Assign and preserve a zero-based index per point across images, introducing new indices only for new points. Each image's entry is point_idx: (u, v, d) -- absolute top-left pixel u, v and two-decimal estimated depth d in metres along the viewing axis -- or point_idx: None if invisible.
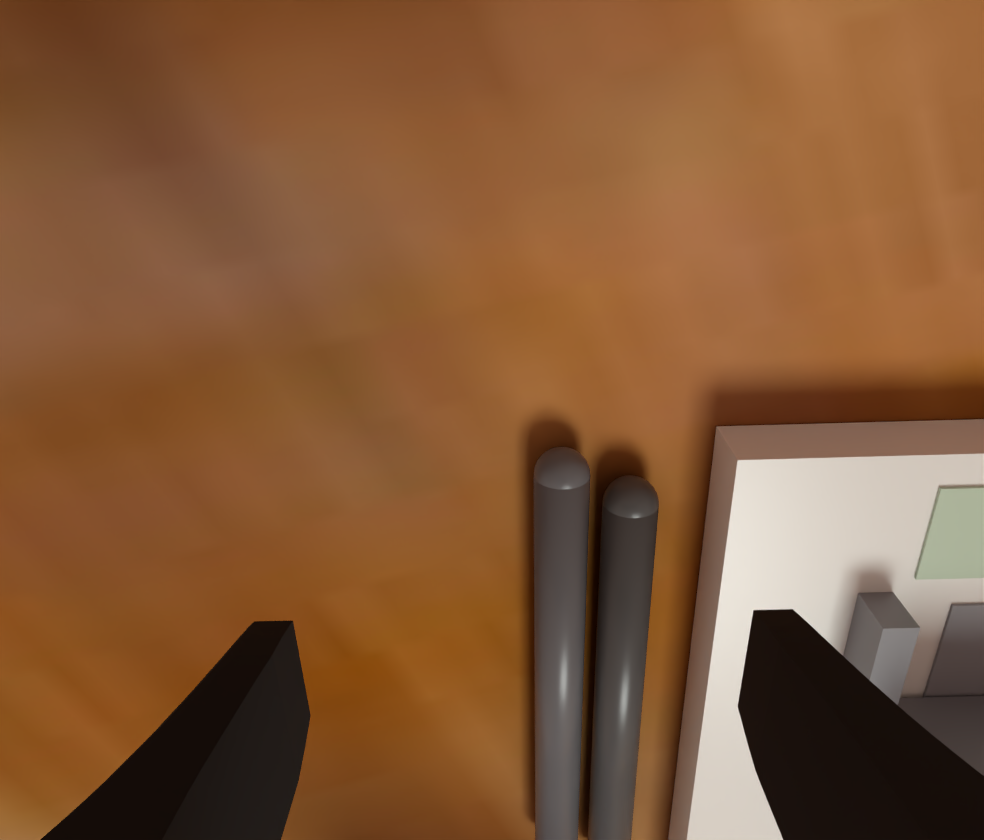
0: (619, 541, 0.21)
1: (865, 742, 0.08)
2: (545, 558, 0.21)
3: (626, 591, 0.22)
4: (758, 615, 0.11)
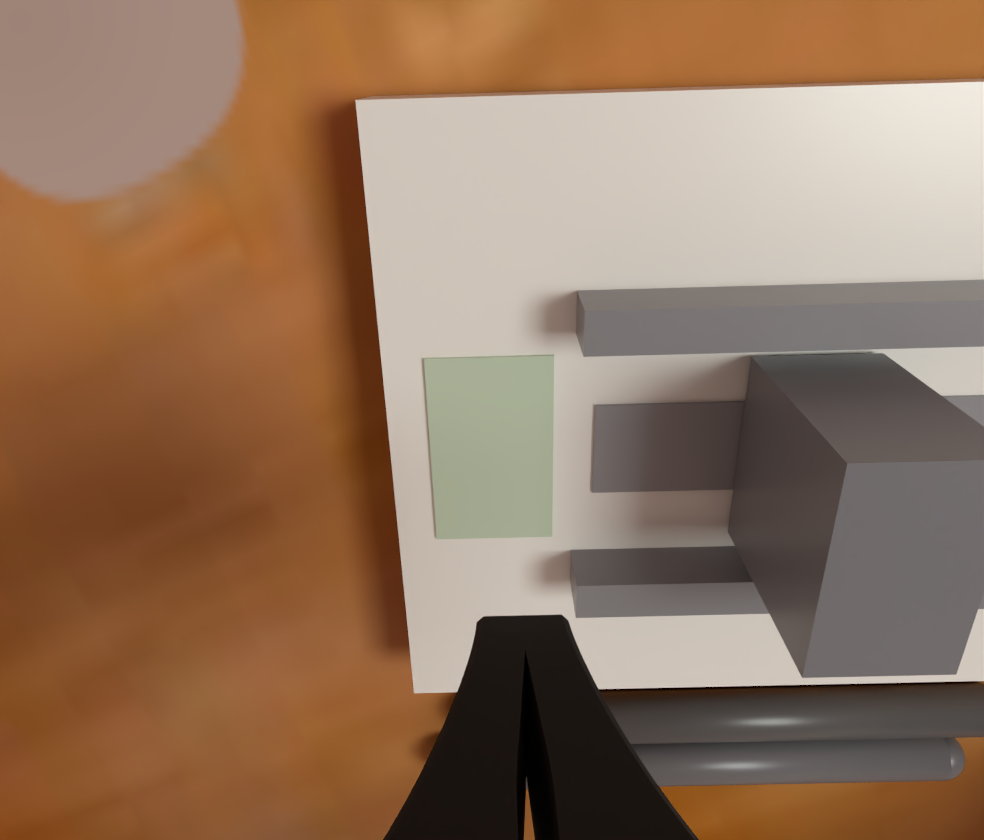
0: None
1: (555, 749, 0.08)
2: None
3: None
4: (524, 620, 0.11)
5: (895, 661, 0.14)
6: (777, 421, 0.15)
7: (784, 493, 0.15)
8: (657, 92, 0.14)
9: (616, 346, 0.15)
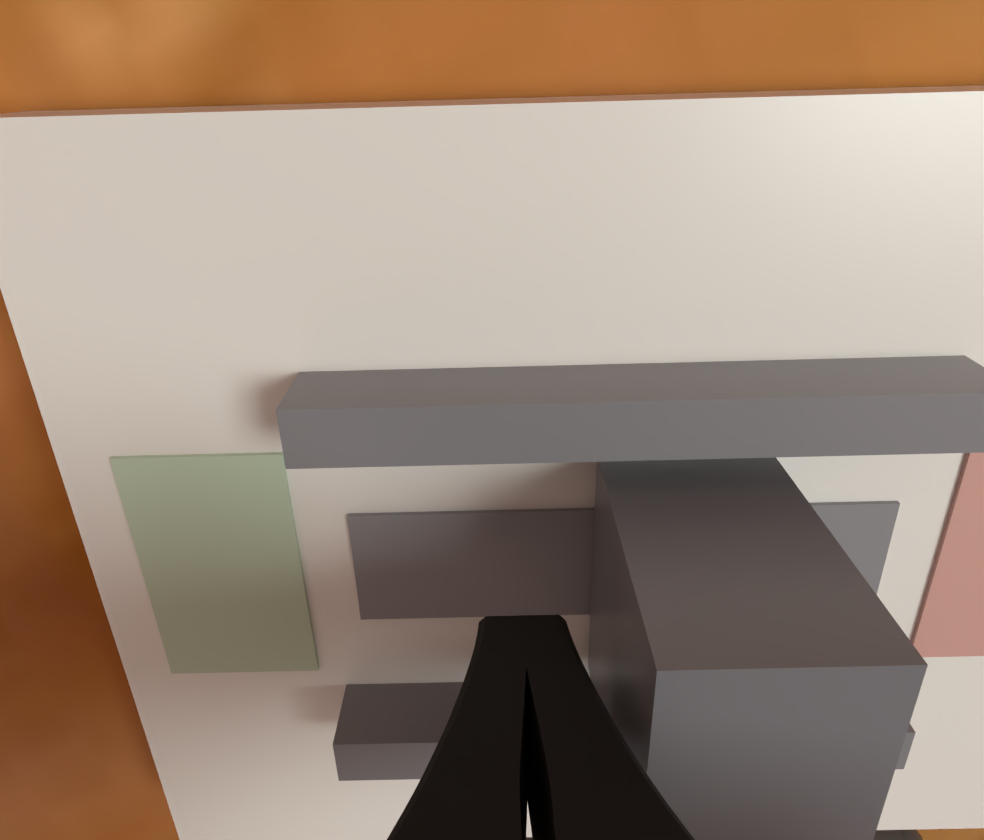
0: None
1: (551, 749, 0.08)
2: None
3: None
4: (521, 620, 0.11)
5: None
6: (612, 557, 0.11)
7: (617, 660, 0.11)
8: (365, 109, 0.10)
9: (328, 456, 0.11)
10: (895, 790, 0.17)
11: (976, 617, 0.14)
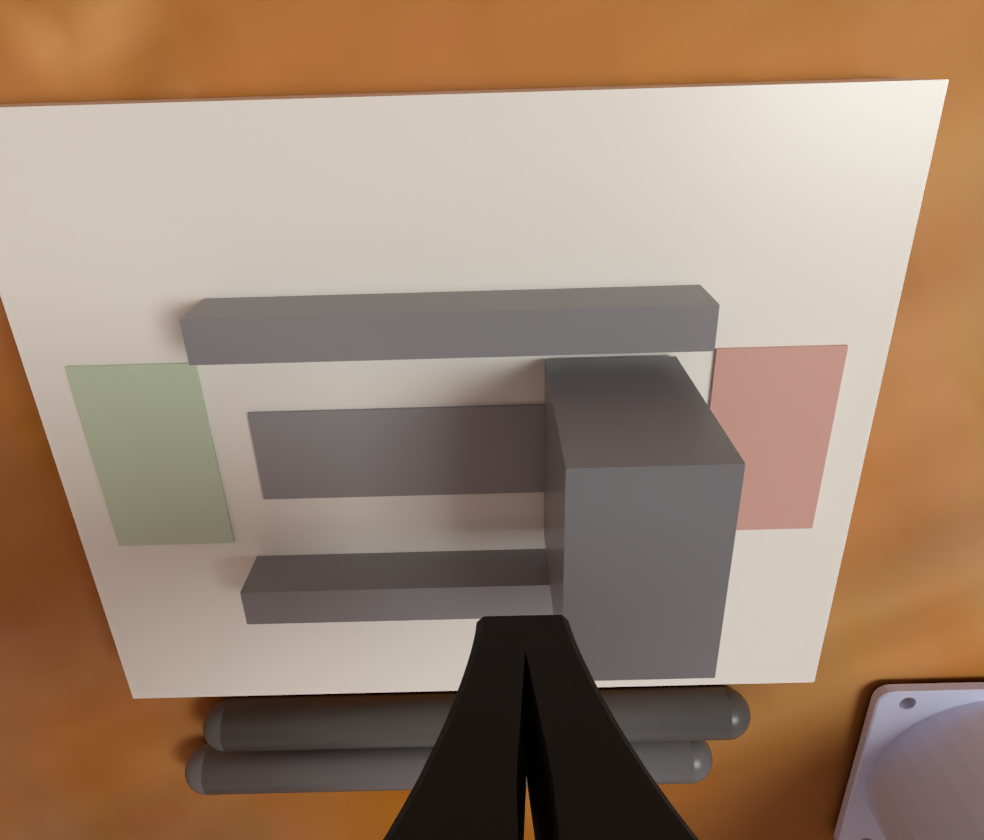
0: (251, 750, 0.23)
1: (554, 749, 0.08)
2: (280, 792, 0.24)
3: (303, 745, 0.23)
4: (523, 620, 0.11)
5: (651, 664, 0.14)
6: (551, 425, 0.15)
7: (554, 497, 0.15)
8: (240, 101, 0.15)
9: (219, 355, 0.15)
10: None
11: (742, 496, 0.18)
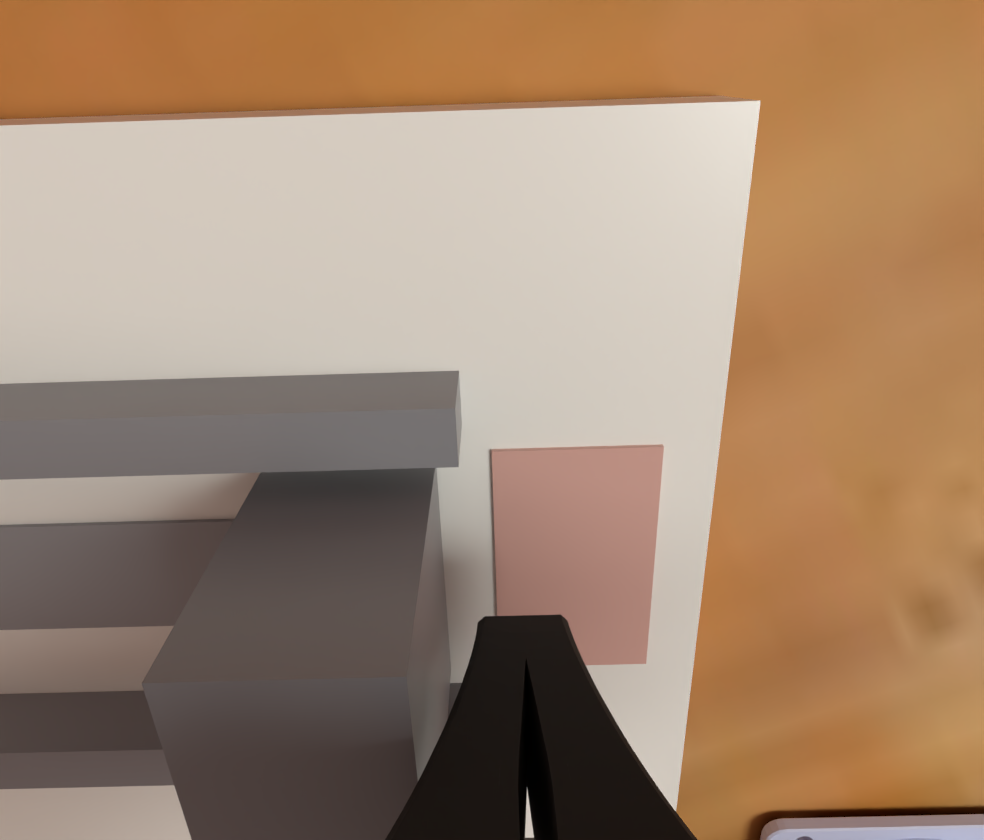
0: None
1: (553, 749, 0.08)
2: None
3: None
4: (522, 620, 0.11)
5: None
6: None
7: None
8: None
9: None
10: None
11: None
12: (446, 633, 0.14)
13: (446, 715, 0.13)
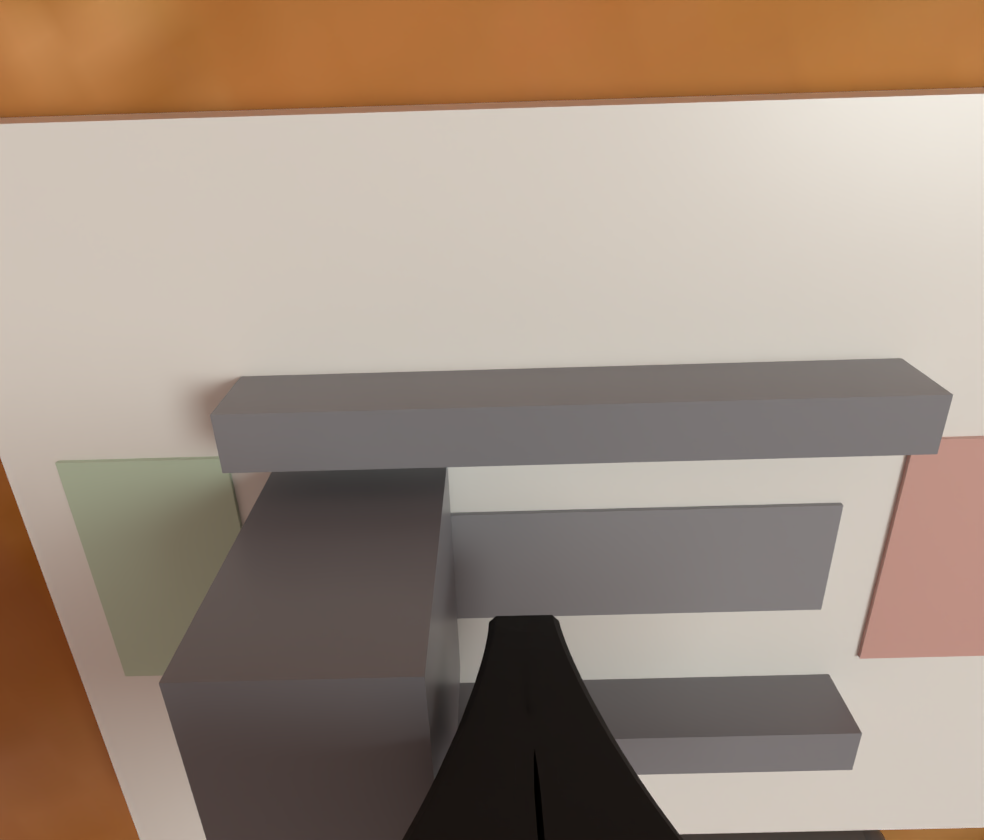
0: None
1: (542, 749, 0.08)
2: None
3: None
4: (514, 620, 0.11)
5: None
6: None
7: None
8: (295, 116, 0.10)
9: (264, 460, 0.11)
10: (852, 791, 0.17)
11: (923, 618, 0.14)
12: (456, 633, 0.14)
13: (456, 715, 0.13)
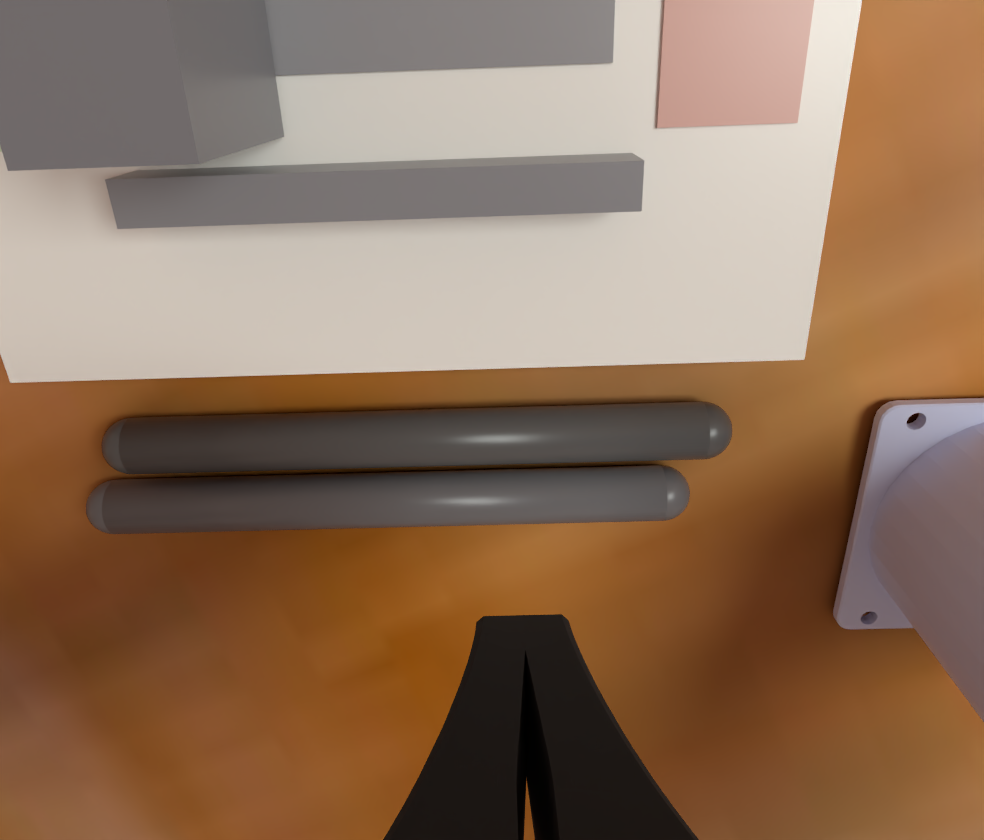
0: (156, 469, 0.20)
1: (554, 749, 0.08)
2: (193, 530, 0.21)
3: (215, 460, 0.20)
4: (523, 620, 0.11)
5: (112, 141, 0.11)
6: None
7: None
8: None
9: None
10: (672, 310, 0.18)
11: (711, 73, 0.15)
12: (270, 74, 0.15)
13: (262, 127, 0.14)
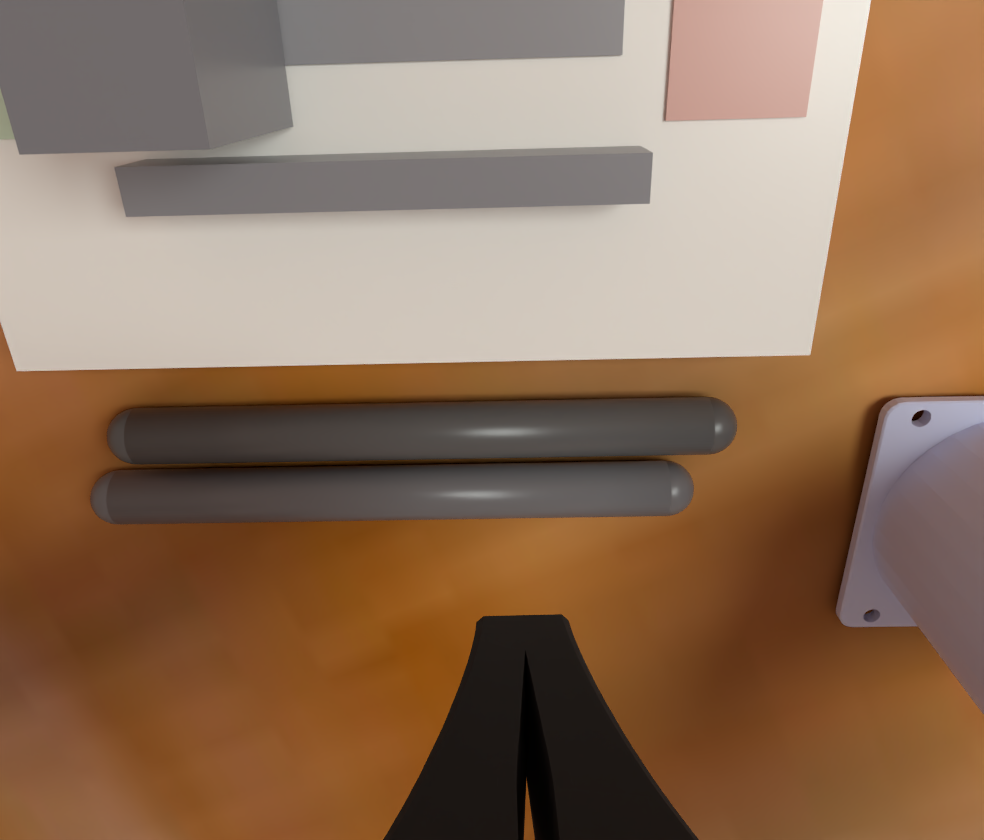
0: (161, 459, 0.20)
1: (555, 749, 0.08)
2: (197, 521, 0.21)
3: (220, 451, 0.20)
4: (523, 620, 0.11)
5: (124, 125, 0.11)
6: None
7: None
8: None
9: None
10: (679, 303, 0.18)
11: (720, 67, 0.15)
12: (280, 64, 0.15)
13: (272, 116, 0.14)
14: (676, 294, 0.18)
